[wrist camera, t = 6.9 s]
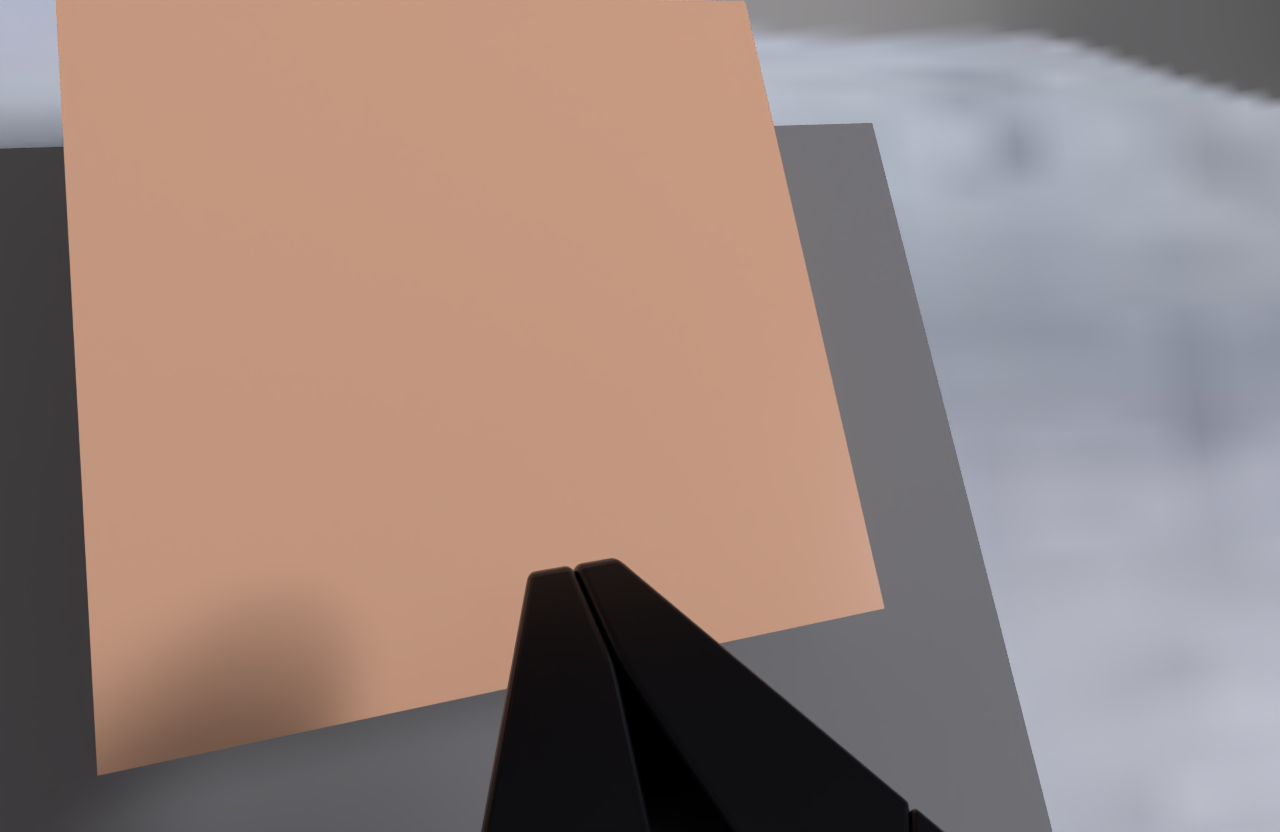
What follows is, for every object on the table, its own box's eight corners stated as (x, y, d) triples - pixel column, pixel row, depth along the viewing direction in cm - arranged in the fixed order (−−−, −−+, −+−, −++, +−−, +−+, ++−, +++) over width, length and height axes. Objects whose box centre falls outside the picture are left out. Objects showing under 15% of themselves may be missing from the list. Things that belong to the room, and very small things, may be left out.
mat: (1168, 1379, 14) (1199, 1412, 13) (-128, 2109, 9) (-164, 2209, 8) (858, 138, 18) (871, 123, 18) (-137, 173, 13) (-161, 153, 13)
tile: (97, 775, 9) (54, -10, 11) (174, 738, 12) (130, 116, 14) (884, 608, 12) (745, 1, 14) (796, 610, 15) (690, 105, 17)
